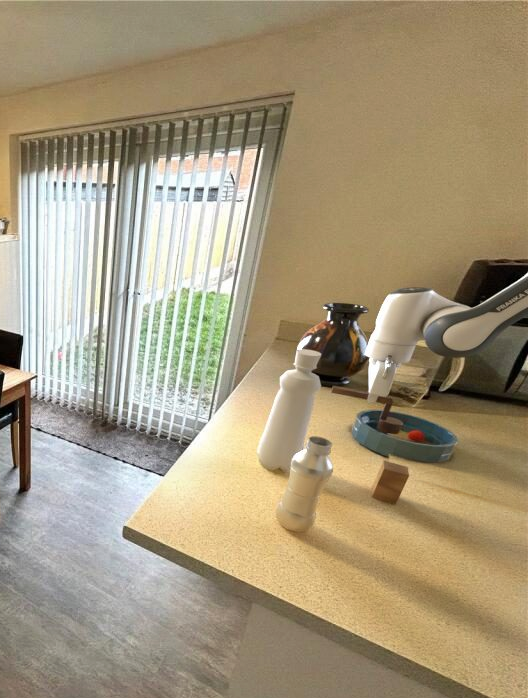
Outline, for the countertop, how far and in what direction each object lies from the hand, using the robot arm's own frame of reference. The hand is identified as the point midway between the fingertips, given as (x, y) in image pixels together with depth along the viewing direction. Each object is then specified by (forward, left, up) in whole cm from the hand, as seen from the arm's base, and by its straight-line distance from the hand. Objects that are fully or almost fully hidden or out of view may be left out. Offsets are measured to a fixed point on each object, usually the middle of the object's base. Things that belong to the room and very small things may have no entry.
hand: (370, 399), depth 106 cm
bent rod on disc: (0, 0, -8) cm, 8 cm away
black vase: (+11, -44, -12) cm, 47 cm away
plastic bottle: (+10, +52, -12) cm, 54 cm away
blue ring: (-8, 0, -12) cm, 14 cm away
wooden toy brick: (-5, +29, -12) cm, 32 cm away
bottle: (+16, +30, -12) cm, 36 cm away
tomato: (-12, -4, -9) cm, 15 cm away
